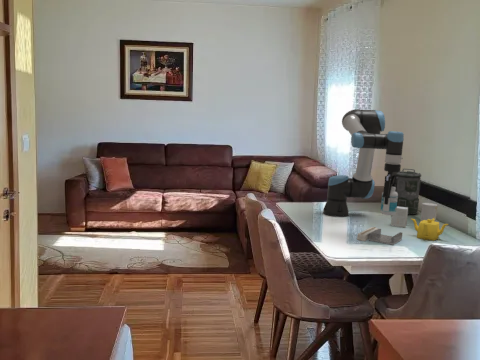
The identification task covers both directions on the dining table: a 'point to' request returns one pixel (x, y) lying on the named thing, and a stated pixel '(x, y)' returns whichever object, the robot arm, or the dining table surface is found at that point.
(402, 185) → the canister
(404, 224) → the small box
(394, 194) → the pill bottle
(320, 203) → the dining table surface
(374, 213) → the dining table surface
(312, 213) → the dining table surface
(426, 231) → the teapot
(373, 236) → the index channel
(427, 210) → the cup
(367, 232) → the door edge
